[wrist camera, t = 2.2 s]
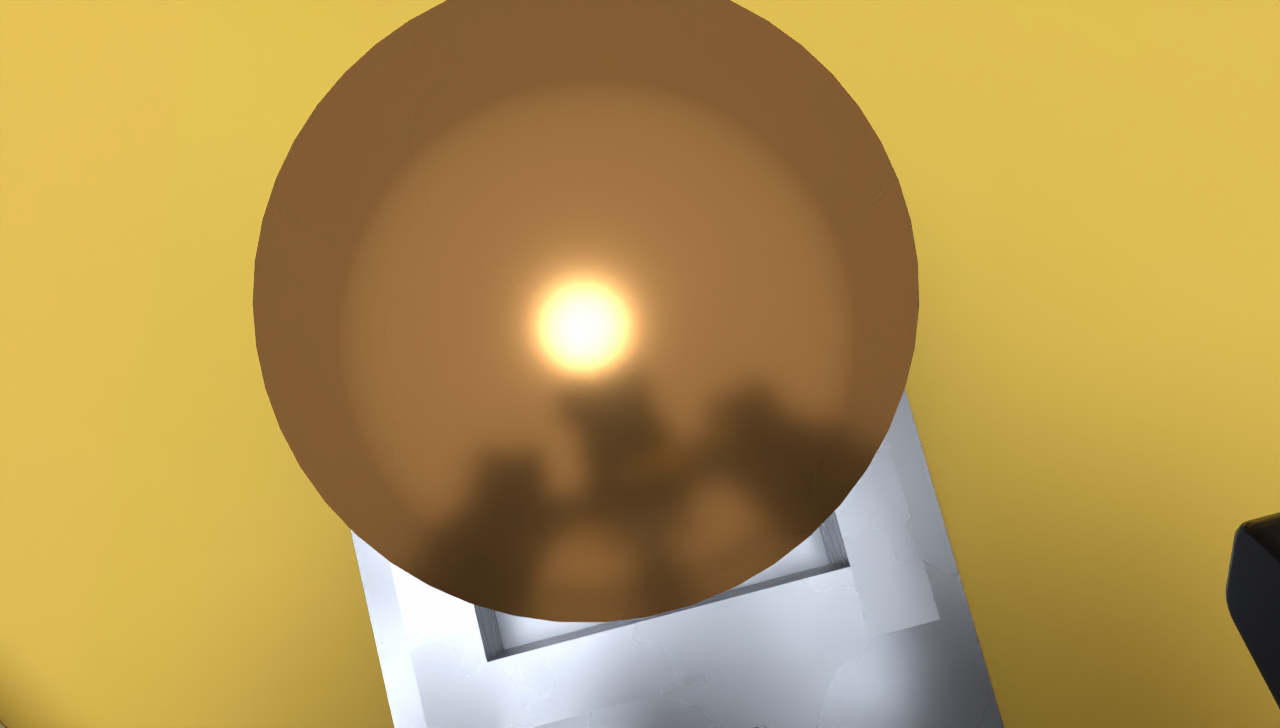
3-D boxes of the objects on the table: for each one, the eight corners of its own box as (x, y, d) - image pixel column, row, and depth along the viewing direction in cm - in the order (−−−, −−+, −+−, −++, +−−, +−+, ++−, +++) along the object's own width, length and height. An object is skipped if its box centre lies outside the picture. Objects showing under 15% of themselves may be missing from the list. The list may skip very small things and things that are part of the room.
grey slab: (1087, 1067, 19) (1169, 1165, 16) (520, 1223, 18) (494, 1355, 15) (829, 179, 21) (859, 119, 18) (316, 310, 21) (259, 270, 18)
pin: (804, 433, 19) (1056, 255, 7) (636, 626, 19) (611, 770, 7) (615, 269, 20) (561, -153, 8) (446, 454, 19) (113, 312, 7)
